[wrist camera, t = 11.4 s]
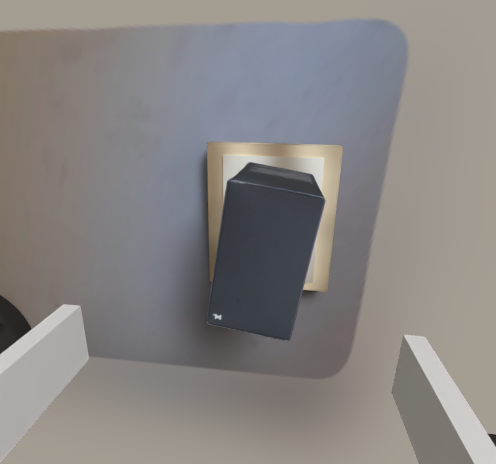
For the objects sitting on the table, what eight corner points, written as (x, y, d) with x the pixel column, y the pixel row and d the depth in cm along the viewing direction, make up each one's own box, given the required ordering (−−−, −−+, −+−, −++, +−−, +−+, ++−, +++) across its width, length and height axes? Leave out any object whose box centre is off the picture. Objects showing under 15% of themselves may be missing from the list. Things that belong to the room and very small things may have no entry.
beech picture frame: (215, 271, 36) (209, 282, 33) (213, 141, 31) (206, 142, 29) (324, 280, 34) (327, 292, 32) (339, 145, 30) (343, 147, 27)
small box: (293, 278, 32) (292, 347, 22) (229, 265, 32) (201, 326, 22) (318, 173, 28) (331, 199, 18) (246, 160, 29) (221, 177, 19)
